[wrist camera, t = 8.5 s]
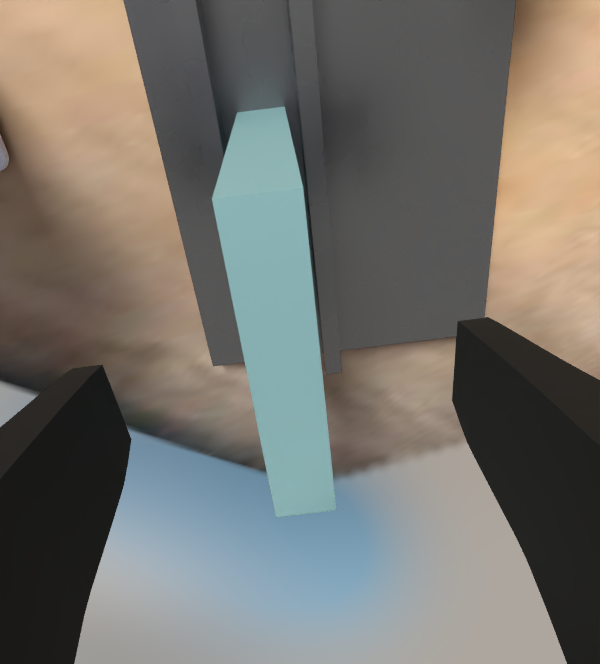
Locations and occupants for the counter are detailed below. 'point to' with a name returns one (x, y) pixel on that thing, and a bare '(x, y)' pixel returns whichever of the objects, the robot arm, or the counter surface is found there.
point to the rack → (342, 149)
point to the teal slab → (276, 307)
